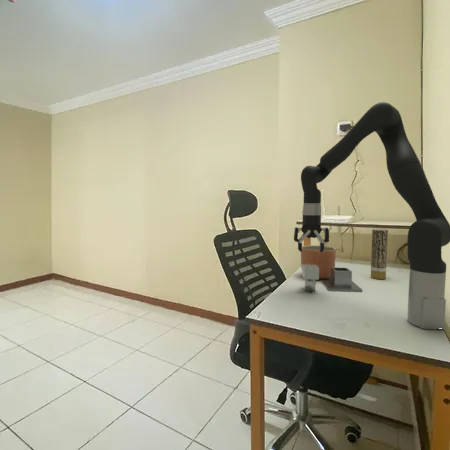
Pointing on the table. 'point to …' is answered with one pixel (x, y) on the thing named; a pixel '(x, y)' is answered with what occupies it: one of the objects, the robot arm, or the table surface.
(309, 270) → the silver block with cylinder
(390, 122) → the robot arm
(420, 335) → the table surface
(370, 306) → the table surface
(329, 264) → the planter
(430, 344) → the table surface
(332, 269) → the duct socket
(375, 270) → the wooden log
